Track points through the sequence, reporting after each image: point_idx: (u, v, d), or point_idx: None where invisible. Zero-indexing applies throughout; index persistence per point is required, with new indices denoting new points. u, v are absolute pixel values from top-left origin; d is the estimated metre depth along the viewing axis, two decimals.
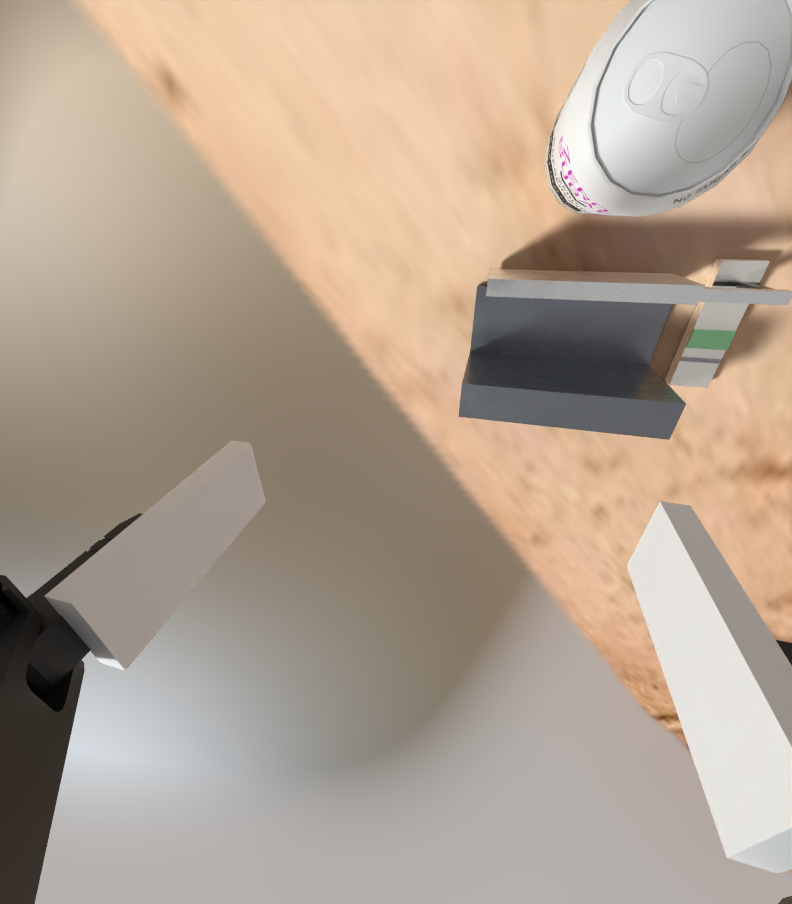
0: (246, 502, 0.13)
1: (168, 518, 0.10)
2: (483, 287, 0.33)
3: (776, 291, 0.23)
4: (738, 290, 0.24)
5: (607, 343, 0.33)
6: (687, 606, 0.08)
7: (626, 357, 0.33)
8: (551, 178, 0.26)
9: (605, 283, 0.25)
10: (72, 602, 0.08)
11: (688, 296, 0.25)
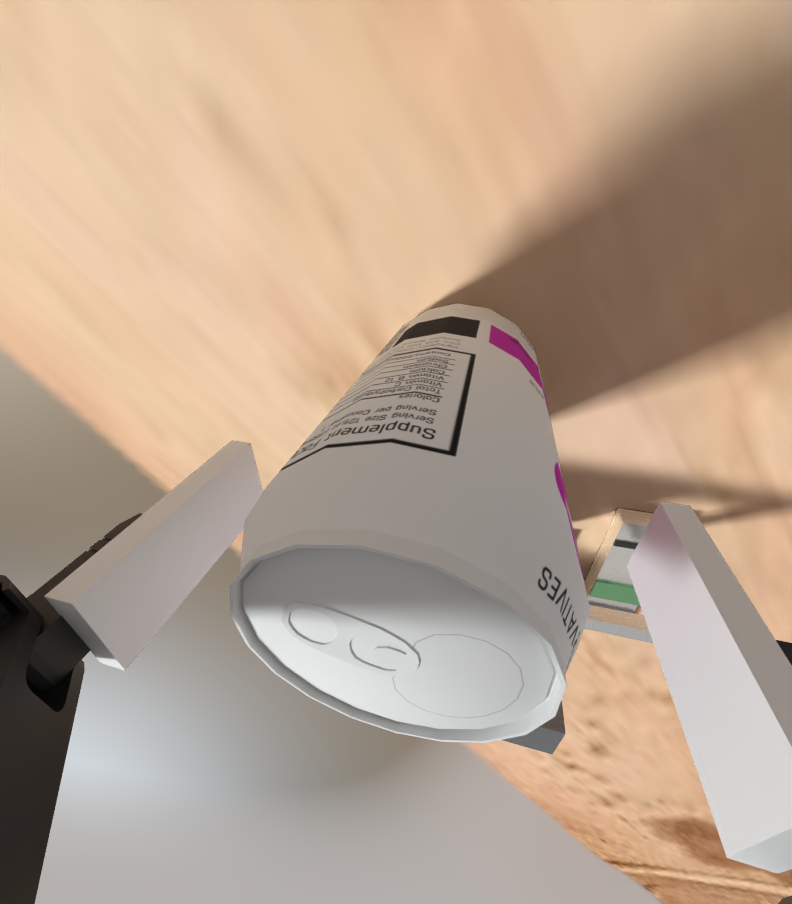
0: (246, 502, 0.13)
1: (168, 518, 0.10)
2: None
3: None
4: (622, 624, 0.17)
5: None
6: (688, 606, 0.08)
7: None
8: None
9: None
10: (72, 602, 0.08)
11: None
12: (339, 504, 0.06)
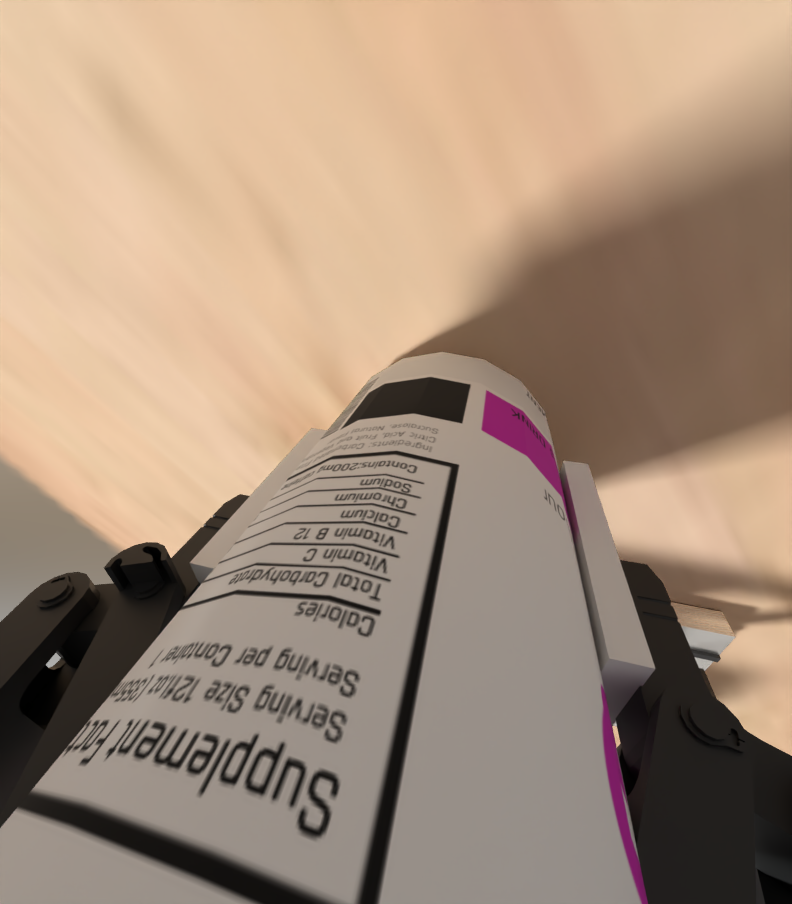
0: None
1: None
2: None
3: None
4: None
5: None
6: None
7: None
8: None
9: None
10: None
11: None
12: None
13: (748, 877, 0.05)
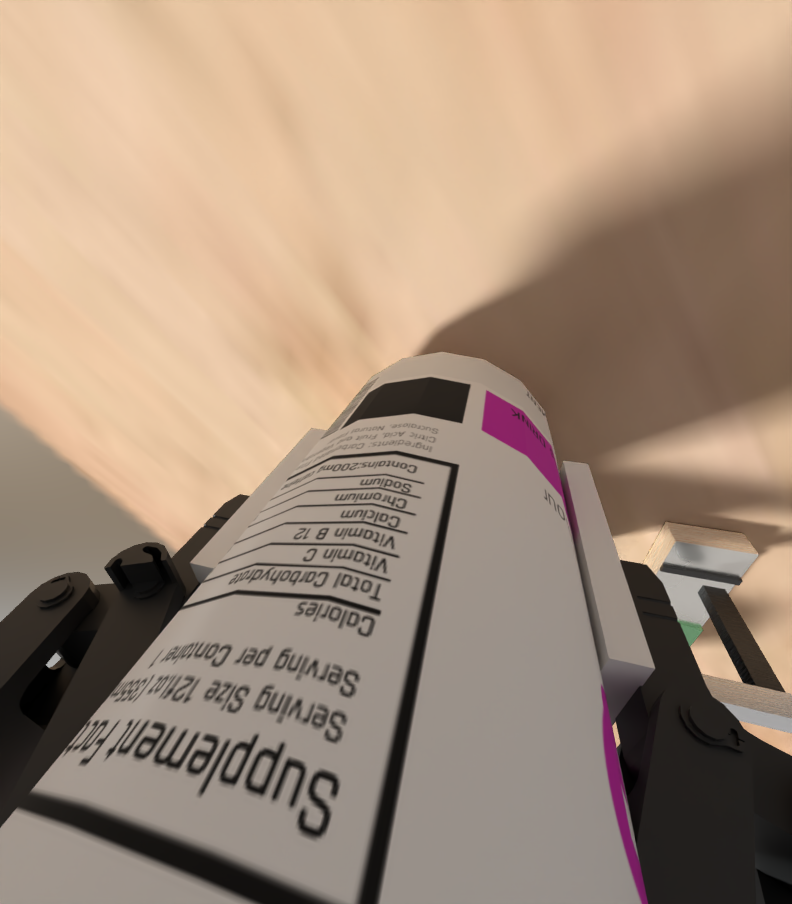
0: None
1: None
2: None
3: (768, 709, 0.11)
4: None
5: None
6: None
7: None
8: None
9: None
10: None
11: None
12: None
13: (748, 877, 0.05)
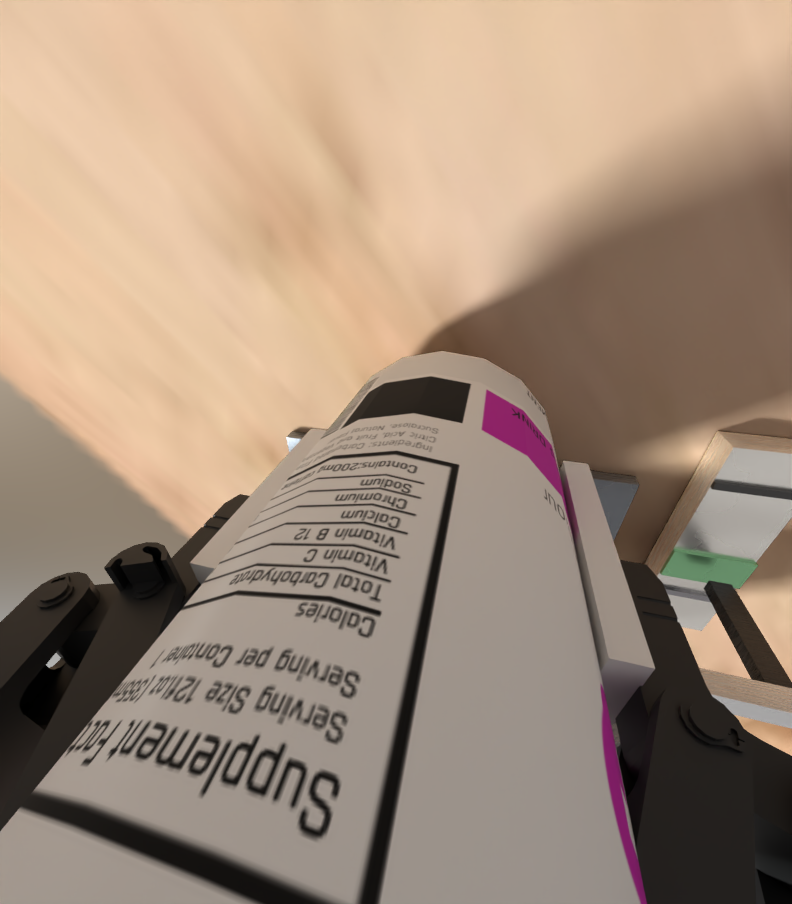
0: None
1: None
2: (296, 439, 0.18)
3: (778, 706, 0.11)
4: None
5: None
6: None
7: None
8: None
9: None
10: None
11: None
12: None
13: (748, 877, 0.05)
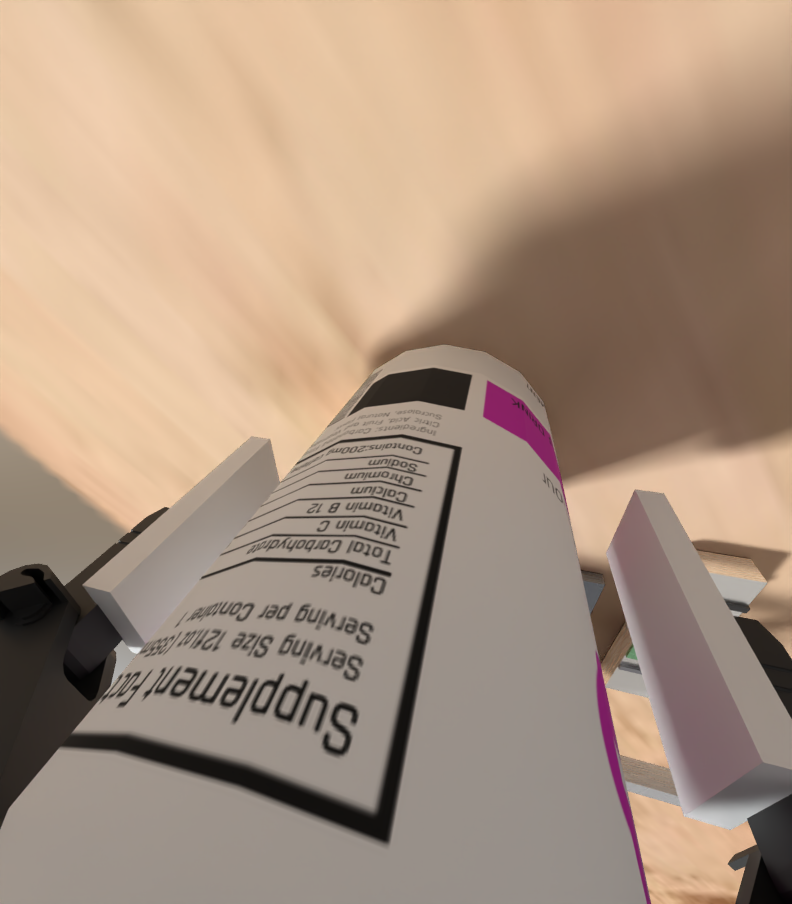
0: (265, 497, 0.13)
1: (195, 511, 0.10)
2: None
3: None
4: (646, 784, 0.13)
5: None
6: (656, 586, 0.09)
7: None
8: None
9: None
10: (110, 590, 0.08)
11: None
12: None
13: None
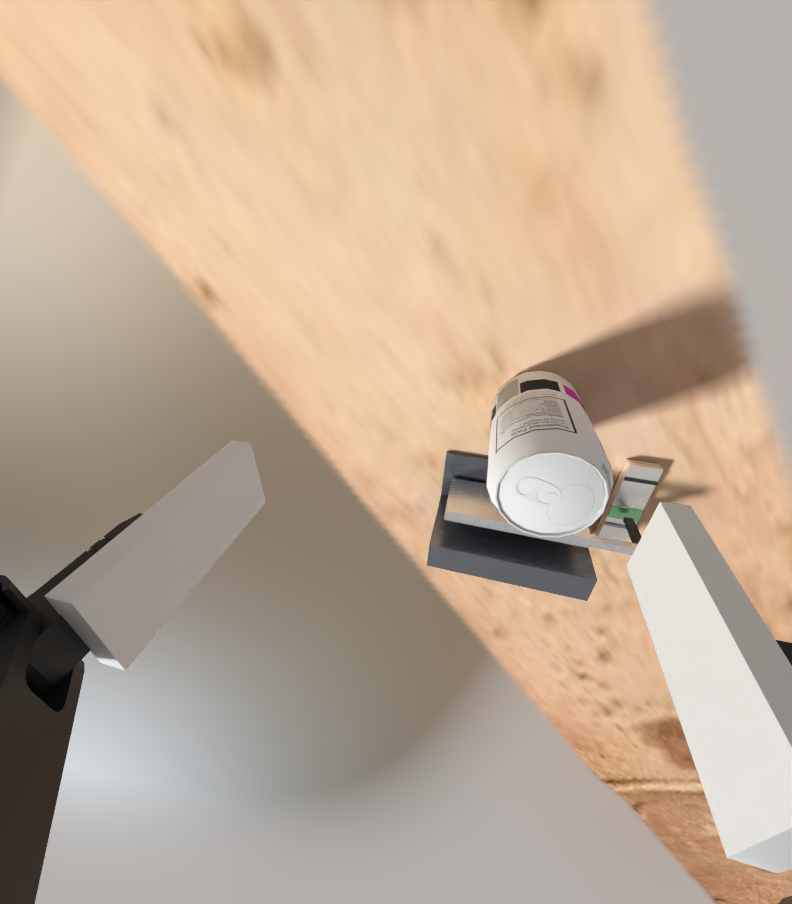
0: (246, 502, 0.13)
1: (168, 518, 0.10)
2: (451, 455, 0.41)
3: None
4: (613, 544, 0.34)
5: None
6: (687, 606, 0.08)
7: None
8: None
9: None
10: (72, 602, 0.08)
11: (581, 542, 0.35)
12: (548, 444, 0.23)
13: None
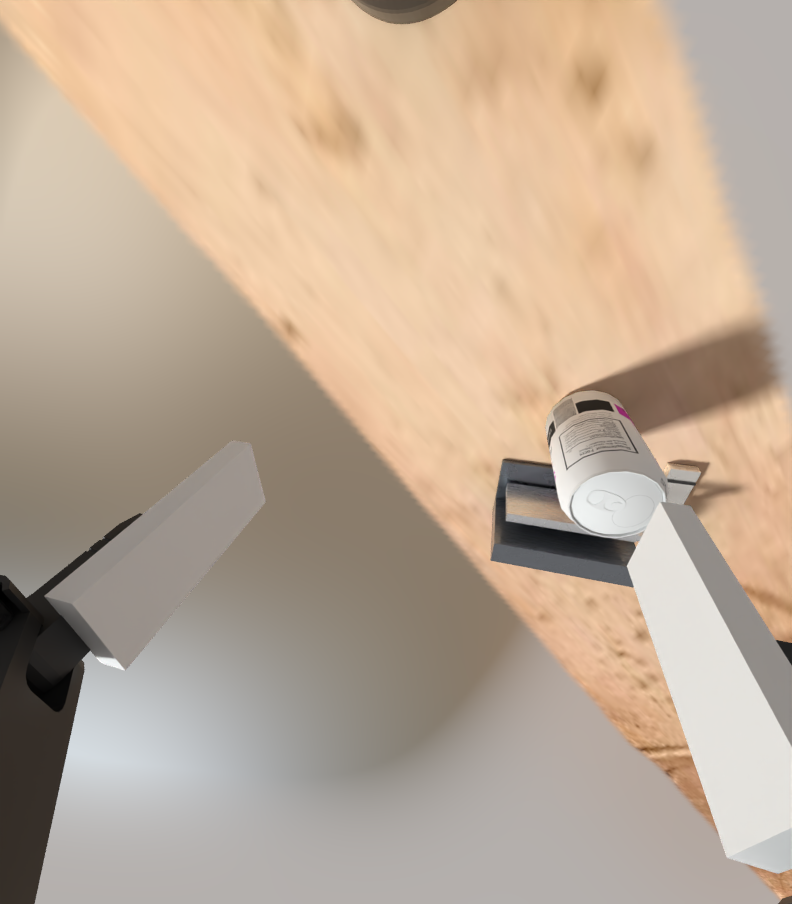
0: (246, 502, 0.13)
1: (168, 518, 0.10)
2: (507, 463, 0.47)
3: None
4: None
5: None
6: (687, 606, 0.08)
7: None
8: None
9: None
10: (72, 602, 0.08)
11: (629, 537, 0.40)
12: (615, 464, 0.29)
13: None
